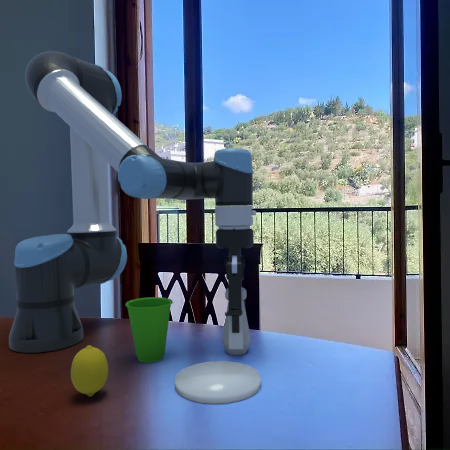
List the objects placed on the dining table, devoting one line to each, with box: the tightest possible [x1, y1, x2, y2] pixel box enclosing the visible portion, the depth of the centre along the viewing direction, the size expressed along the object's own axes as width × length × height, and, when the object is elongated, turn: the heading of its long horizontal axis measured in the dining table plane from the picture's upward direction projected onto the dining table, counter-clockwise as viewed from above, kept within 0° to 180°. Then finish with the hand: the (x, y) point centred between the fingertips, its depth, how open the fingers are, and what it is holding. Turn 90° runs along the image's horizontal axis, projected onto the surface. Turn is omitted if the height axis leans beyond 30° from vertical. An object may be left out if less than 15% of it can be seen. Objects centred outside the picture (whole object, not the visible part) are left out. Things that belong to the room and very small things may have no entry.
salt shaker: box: [221, 286, 252, 356], centre depth 83 cm, size 6×6×13 cm
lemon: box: [70, 345, 109, 397], centre depth 65 cm, size 6×6×8 cm
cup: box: [125, 296, 174, 364], centre depth 81 cm, size 9×9×11 cm
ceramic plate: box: [174, 360, 262, 405], centre depth 69 cm, size 14×14×1 cm
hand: (236, 342), depth 84 cm, fingers open, 6 cm apart
